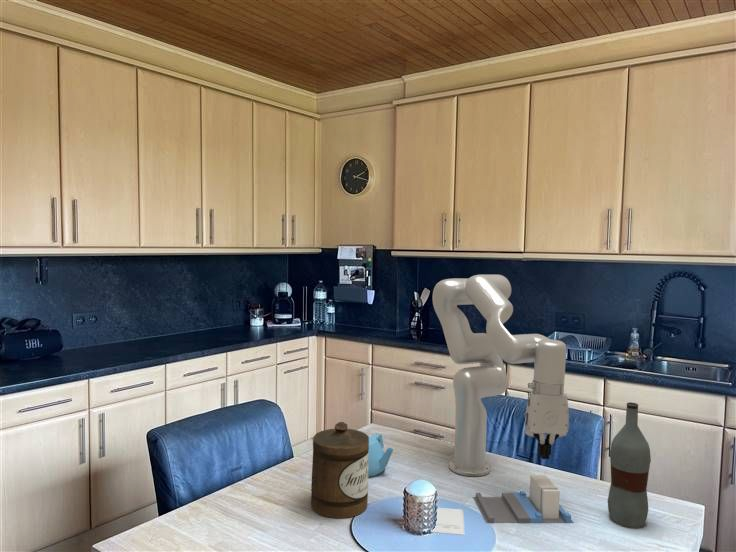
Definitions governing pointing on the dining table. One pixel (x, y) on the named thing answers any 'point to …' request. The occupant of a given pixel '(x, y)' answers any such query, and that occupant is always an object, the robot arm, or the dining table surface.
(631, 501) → the bottle
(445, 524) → the external hard drive
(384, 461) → the teapot
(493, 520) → the board
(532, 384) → the robot arm
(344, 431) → the wooden container
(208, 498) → the dining table surface
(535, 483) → the block
